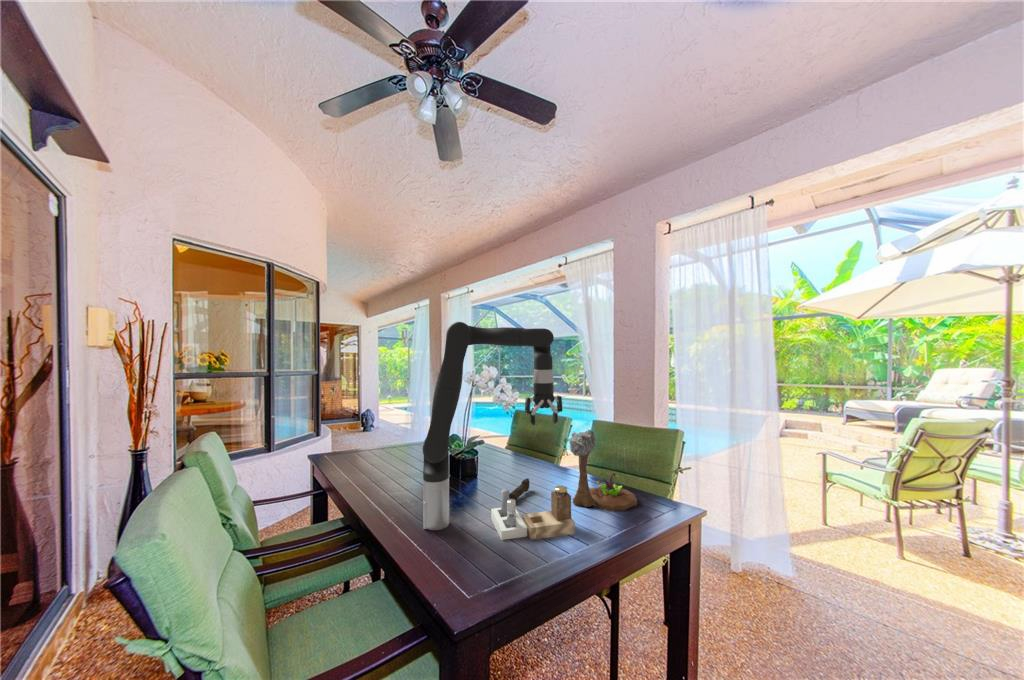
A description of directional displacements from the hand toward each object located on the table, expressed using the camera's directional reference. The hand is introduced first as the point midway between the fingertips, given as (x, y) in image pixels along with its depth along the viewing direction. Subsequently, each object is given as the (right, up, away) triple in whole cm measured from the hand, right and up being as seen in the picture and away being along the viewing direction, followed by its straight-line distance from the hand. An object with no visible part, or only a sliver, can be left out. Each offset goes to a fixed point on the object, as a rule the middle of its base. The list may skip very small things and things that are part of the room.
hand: (543, 423), depth 138 cm
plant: (+30, -37, +17) cm, 50 cm away
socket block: (+1, -36, -9) cm, 37 cm away
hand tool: (-11, -40, +17) cm, 44 cm away
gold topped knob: (+5, -28, -8) cm, 30 cm away
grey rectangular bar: (-12, -36, -11) cm, 40 cm away
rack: (-13, -36, -7) cm, 39 cm away
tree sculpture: (+18, -36, +13) cm, 42 cm away
